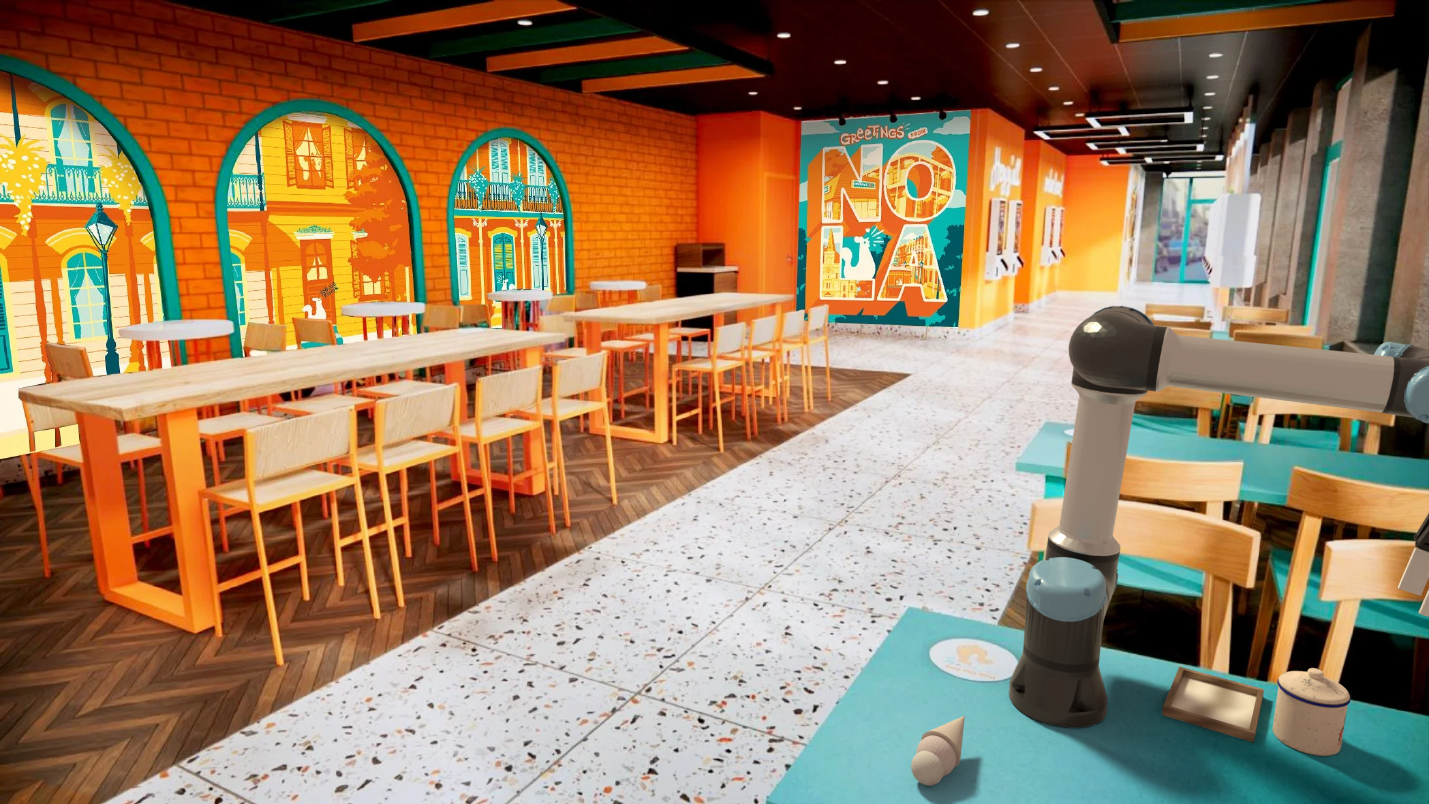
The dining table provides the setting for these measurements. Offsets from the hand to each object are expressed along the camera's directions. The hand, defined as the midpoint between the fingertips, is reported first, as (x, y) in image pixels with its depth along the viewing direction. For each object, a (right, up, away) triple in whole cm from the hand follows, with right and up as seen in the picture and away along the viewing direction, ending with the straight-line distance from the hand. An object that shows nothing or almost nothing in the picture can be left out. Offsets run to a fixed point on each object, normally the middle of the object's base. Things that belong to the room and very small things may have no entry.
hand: (1419, 604), depth 119 cm
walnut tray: (-18, -21, +19) cm, 34 cm away
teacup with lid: (-9, -23, +11) cm, 27 cm away
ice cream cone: (-67, -25, +5) cm, 72 cm away
